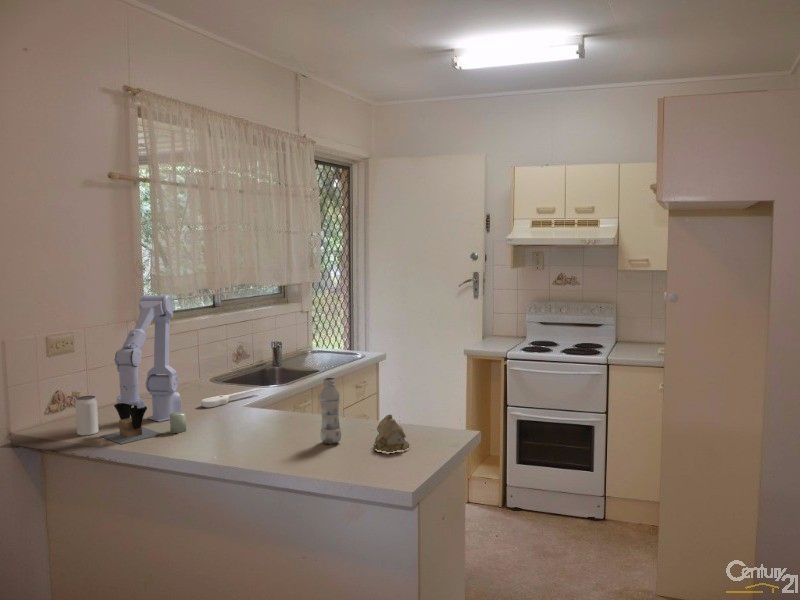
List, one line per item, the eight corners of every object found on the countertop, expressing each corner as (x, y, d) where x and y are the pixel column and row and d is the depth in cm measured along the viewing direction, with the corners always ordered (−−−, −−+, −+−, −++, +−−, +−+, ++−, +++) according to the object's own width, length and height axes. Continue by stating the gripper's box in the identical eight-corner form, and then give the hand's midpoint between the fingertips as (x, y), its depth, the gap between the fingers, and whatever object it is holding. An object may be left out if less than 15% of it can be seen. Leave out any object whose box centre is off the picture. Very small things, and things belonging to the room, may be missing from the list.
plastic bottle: (325, 447, 207) (323, 382, 205) (317, 441, 213) (315, 378, 211) (344, 444, 210) (343, 379, 208) (336, 438, 216) (335, 376, 214)
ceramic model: (414, 452, 201) (414, 419, 200) (377, 456, 198) (377, 422, 197) (401, 439, 215) (401, 407, 214) (366, 442, 212) (366, 410, 211)
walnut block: (134, 431, 226) (133, 417, 226) (142, 434, 223) (141, 419, 223) (119, 435, 223) (119, 420, 222) (127, 438, 219) (126, 422, 219)
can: (90, 436, 222) (88, 400, 221) (72, 435, 224) (70, 399, 223) (102, 431, 229) (100, 395, 228) (85, 430, 230) (83, 395, 229)
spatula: (256, 393, 281) (256, 387, 281) (265, 395, 278) (265, 388, 277) (197, 407, 260) (197, 399, 260) (206, 409, 256) (206, 401, 256)
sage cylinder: (181, 428, 230) (180, 411, 230) (189, 431, 227) (188, 413, 226) (167, 432, 226) (166, 414, 226) (175, 434, 223) (174, 416, 223)
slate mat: (141, 427, 233) (141, 426, 233) (162, 434, 224) (162, 433, 224) (100, 436, 222) (100, 435, 222) (121, 444, 213) (121, 443, 213)
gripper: (106, 384, 223) (108, 425, 225) (128, 390, 214) (130, 433, 215) (127, 381, 229) (129, 421, 230) (149, 386, 219) (151, 428, 220)
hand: (131, 426), depth 223 cm, fingers open, 7 cm apart
